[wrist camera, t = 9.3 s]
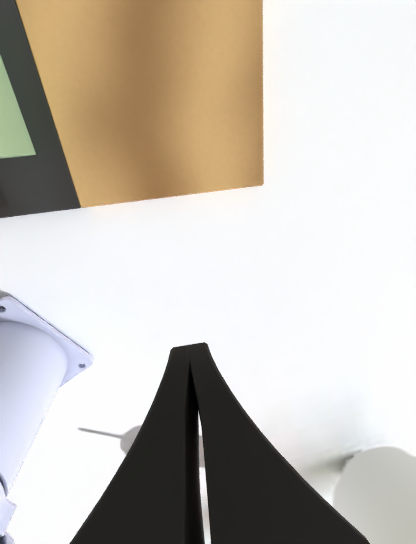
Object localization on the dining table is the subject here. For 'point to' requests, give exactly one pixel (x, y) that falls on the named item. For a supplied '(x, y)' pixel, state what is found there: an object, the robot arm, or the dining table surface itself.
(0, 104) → the sage block
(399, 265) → the dining table surface
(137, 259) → the dining table surface
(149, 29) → the board
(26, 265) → the dining table surface
